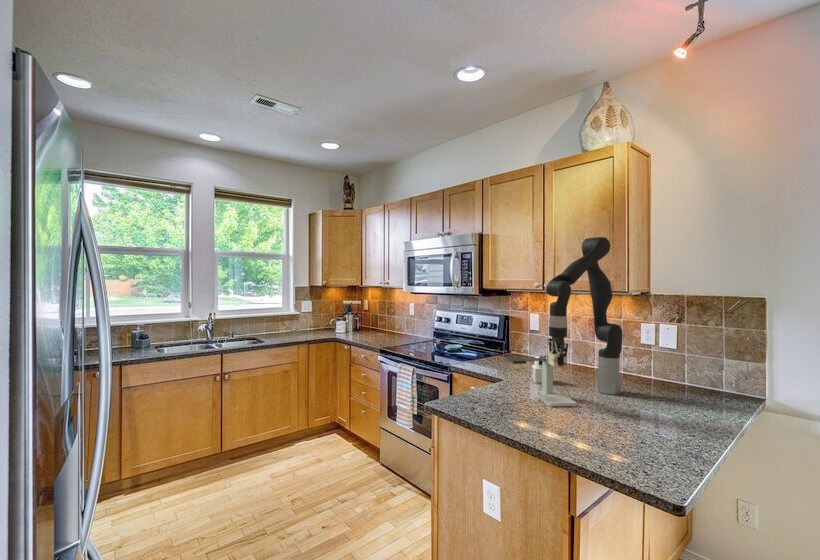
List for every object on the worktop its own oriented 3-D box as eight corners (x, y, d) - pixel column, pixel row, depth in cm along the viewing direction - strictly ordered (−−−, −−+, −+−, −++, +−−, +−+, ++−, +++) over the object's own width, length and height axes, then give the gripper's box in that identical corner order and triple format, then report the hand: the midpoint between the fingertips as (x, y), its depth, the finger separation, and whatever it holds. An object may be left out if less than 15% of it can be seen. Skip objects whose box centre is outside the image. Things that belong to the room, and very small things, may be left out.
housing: (561, 363, 175) (561, 352, 174) (566, 366, 170) (567, 354, 169) (548, 363, 174) (548, 352, 174) (553, 366, 169) (553, 354, 169)
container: (546, 379, 208) (546, 355, 208) (550, 383, 200) (550, 358, 200) (531, 379, 209) (532, 355, 209) (534, 383, 201) (535, 358, 201)
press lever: (545, 359, 186) (545, 354, 186) (555, 364, 176) (555, 359, 176) (505, 359, 184) (505, 354, 184) (513, 365, 174) (513, 359, 174)
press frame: (556, 392, 185) (557, 355, 185) (576, 406, 167) (577, 364, 166) (532, 393, 184) (532, 355, 184) (550, 407, 166) (550, 364, 165)
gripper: (574, 328, 165) (574, 367, 165) (558, 323, 179) (557, 360, 179) (557, 328, 164) (557, 368, 164) (542, 323, 178) (542, 360, 179)
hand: (557, 363), depth 172 cm, fingers closed on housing, 5 cm apart
